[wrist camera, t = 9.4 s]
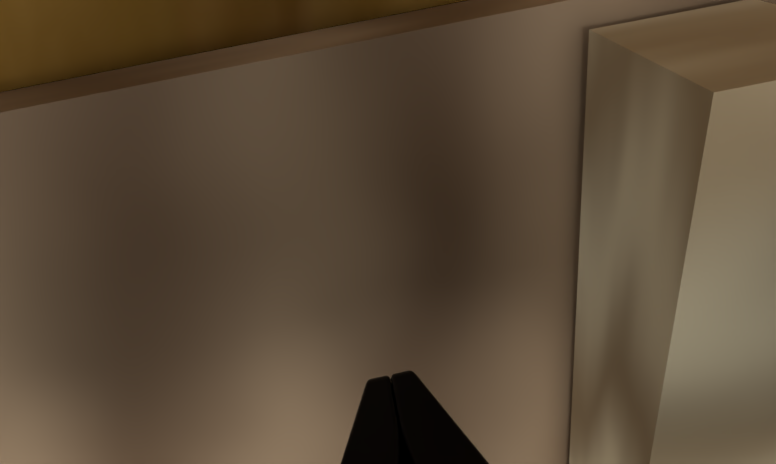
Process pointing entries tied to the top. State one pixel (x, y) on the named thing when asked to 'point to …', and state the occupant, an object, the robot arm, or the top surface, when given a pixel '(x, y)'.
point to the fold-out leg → (678, 242)
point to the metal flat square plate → (301, 239)
